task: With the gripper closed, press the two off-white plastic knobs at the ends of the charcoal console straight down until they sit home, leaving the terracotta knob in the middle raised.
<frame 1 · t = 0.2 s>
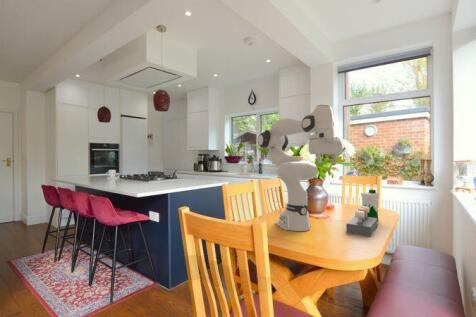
hand: (327, 163, 127), 39 cm above the table, tool pointing down, fingers open, 8 cm apart
terracotta knob: (362, 215, 146), point 8 cm above the table, slide at 3.5 cm
white knob b: (365, 212, 152), point 8 cm above the table, slide at 3.5 cm
console: (362, 229, 146), on the table
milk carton: (369, 220, 167), on the table
white knob a: (359, 217, 139), point 8 cm above the table, slide at 3.5 cm
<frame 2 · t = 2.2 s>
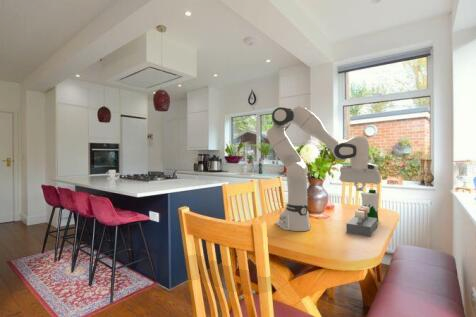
hand: (359, 190, 139), 23 cm above the table, tool pointing down, fingers closed
nothing on the table moved.
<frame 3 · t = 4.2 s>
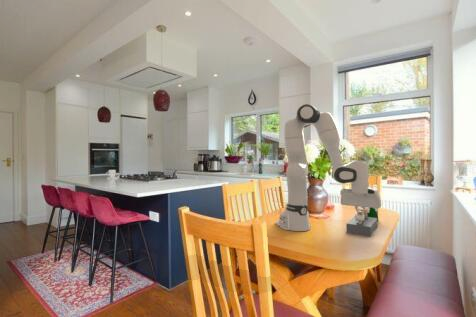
hand: (360, 214, 139), 10 cm above the table, tool pointing down, fingers closed, pressing on white knob a
white knob a: (359, 220, 139), point 6 cm above the table, slide at 1.8 cm, touching gripper
everything else where it was.
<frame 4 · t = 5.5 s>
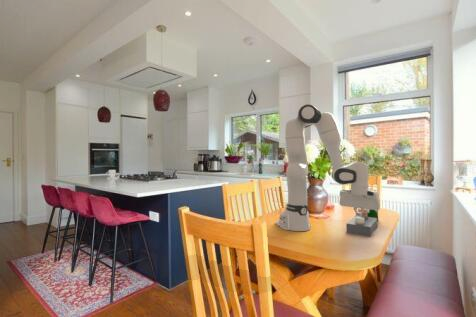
hand: (358, 216, 140), 9 cm above the table, tool pointing down, fingers closed
white knob a: (359, 224, 139), point 5 cm above the table, slide at -0.1 cm, touching console
everything else where it was.
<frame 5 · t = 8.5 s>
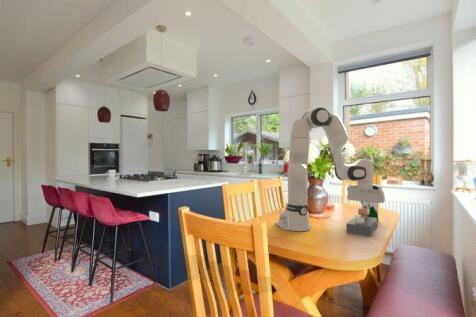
hand: (365, 208, 152), 11 cm above the table, tool pointing down, fingers closed, pressing on white knob b
white knob b: (365, 214, 152), point 7 cm above the table, slide at 2.4 cm, touching gripper
everything else where it was.
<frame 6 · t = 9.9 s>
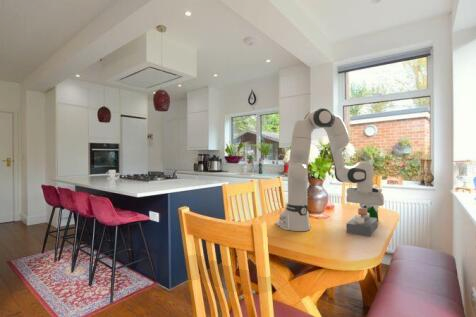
hand: (364, 211, 152), 9 cm above the table, tool pointing down, fingers closed
white knob b: (365, 218, 152), point 5 cm above the table, slide at -0.1 cm, touching console
everything else where it was.
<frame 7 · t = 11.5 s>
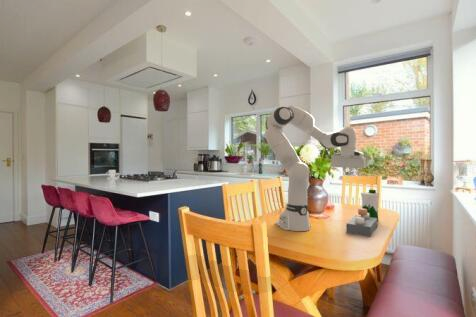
hand: (347, 174, 160), 30 cm above the table, tool pointing down, fingers closed
nothing on the table moved.
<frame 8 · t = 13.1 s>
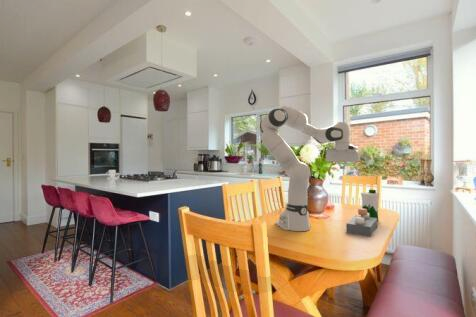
hand: (342, 169, 162), 34 cm above the table, tool pointing down, fingers closed
nothing on the table moved.
at the end: white knob a slide at -0.1 cm; white knob b slide at -0.1 cm; terracotta knob slide at 3.5 cm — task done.
